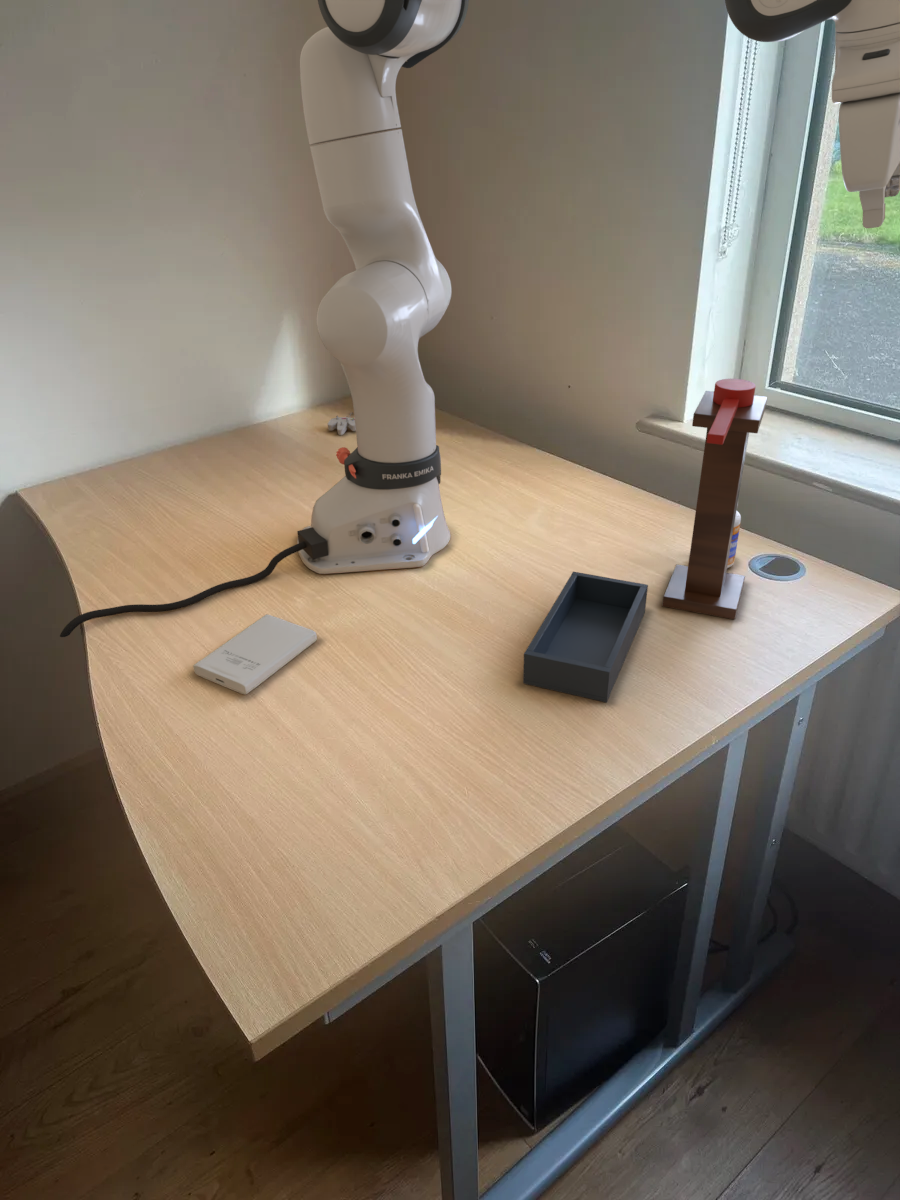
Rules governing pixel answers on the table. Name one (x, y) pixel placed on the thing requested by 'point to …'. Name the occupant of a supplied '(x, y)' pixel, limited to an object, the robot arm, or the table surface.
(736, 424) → the stand
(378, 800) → the table surface
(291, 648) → the hard drive
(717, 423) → the red lever with knob
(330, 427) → the game controller
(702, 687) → the table surface
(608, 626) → the bin
